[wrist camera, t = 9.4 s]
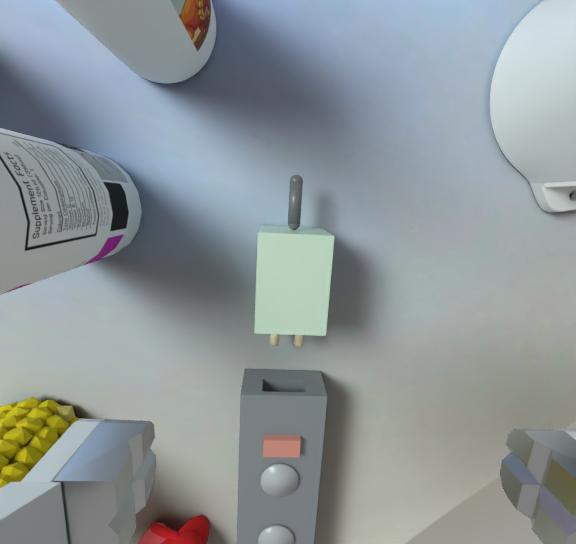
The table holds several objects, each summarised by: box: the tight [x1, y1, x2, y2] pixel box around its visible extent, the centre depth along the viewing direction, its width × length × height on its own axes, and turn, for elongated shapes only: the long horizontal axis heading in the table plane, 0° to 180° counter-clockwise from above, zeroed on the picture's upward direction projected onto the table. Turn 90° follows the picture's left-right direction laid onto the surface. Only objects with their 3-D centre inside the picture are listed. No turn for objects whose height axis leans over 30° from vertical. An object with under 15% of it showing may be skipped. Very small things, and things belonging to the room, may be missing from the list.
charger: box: [254, 175, 335, 347], centre depth 24 cm, size 5×13×6 cm, turn 177°
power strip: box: [237, 369, 328, 544], centre depth 30 cm, size 7×24×5 cm, turn 177°
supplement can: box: [0, 128, 142, 295], centre depth 19 cm, size 8×8×15 cm
